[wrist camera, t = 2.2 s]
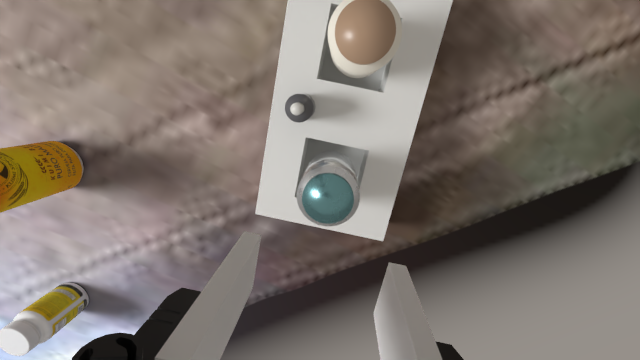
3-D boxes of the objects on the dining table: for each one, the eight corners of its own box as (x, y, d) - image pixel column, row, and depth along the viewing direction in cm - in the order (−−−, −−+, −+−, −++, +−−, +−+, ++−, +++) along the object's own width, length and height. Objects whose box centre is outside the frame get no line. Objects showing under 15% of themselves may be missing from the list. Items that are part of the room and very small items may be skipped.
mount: (301, -21, 30) (294, -43, 25) (437, 8, 30) (455, -9, 25) (266, 198, 37) (255, 213, 32) (377, 222, 37) (383, 241, 32)
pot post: (292, 91, 28) (284, 91, 24) (317, 96, 28) (313, 97, 24) (288, 116, 29) (279, 120, 25) (312, 121, 29) (308, 126, 25)
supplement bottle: (52, 283, 42) (-15, 327, 34) (82, 279, 42) (21, 323, 34) (66, 311, 44) (3, 360, 36) (95, 308, 43) (38, 356, 35)
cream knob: (337, 13, 26) (336, -19, 19) (392, 24, 26) (413, -3, 19) (325, 72, 28) (320, 63, 20) (378, 83, 28) (392, 78, 20)
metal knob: (311, 145, 30) (301, 161, 22) (360, 156, 30) (367, 175, 22) (302, 192, 31) (290, 222, 24) (349, 202, 31) (352, 235, 24)
